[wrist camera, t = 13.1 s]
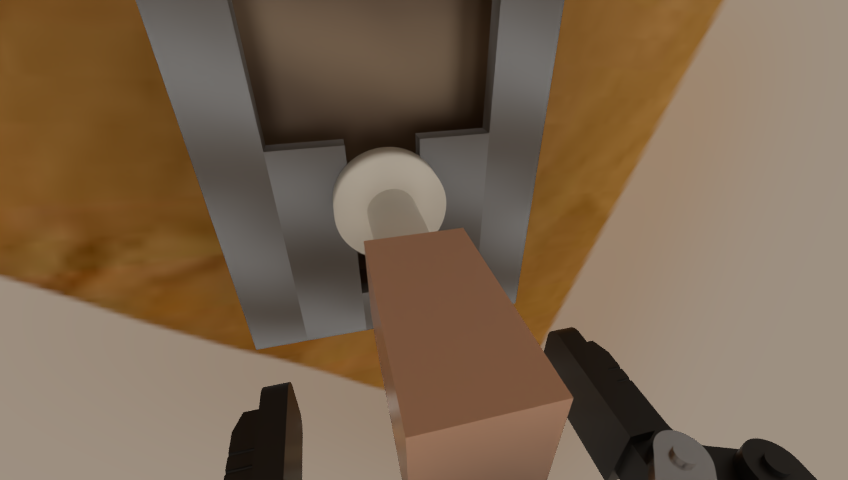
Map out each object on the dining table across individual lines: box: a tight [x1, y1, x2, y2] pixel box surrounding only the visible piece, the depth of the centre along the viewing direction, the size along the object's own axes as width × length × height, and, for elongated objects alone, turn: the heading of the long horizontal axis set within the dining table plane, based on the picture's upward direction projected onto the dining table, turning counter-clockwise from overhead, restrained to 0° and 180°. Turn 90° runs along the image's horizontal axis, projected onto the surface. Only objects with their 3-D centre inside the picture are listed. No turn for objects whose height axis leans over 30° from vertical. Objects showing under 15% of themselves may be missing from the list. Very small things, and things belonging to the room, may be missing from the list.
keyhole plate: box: [136, 0, 564, 350], centre depth 17 cm, size 20×14×5 cm
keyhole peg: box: [333, 147, 573, 480], centre depth 12 cm, size 5×5×12 cm
